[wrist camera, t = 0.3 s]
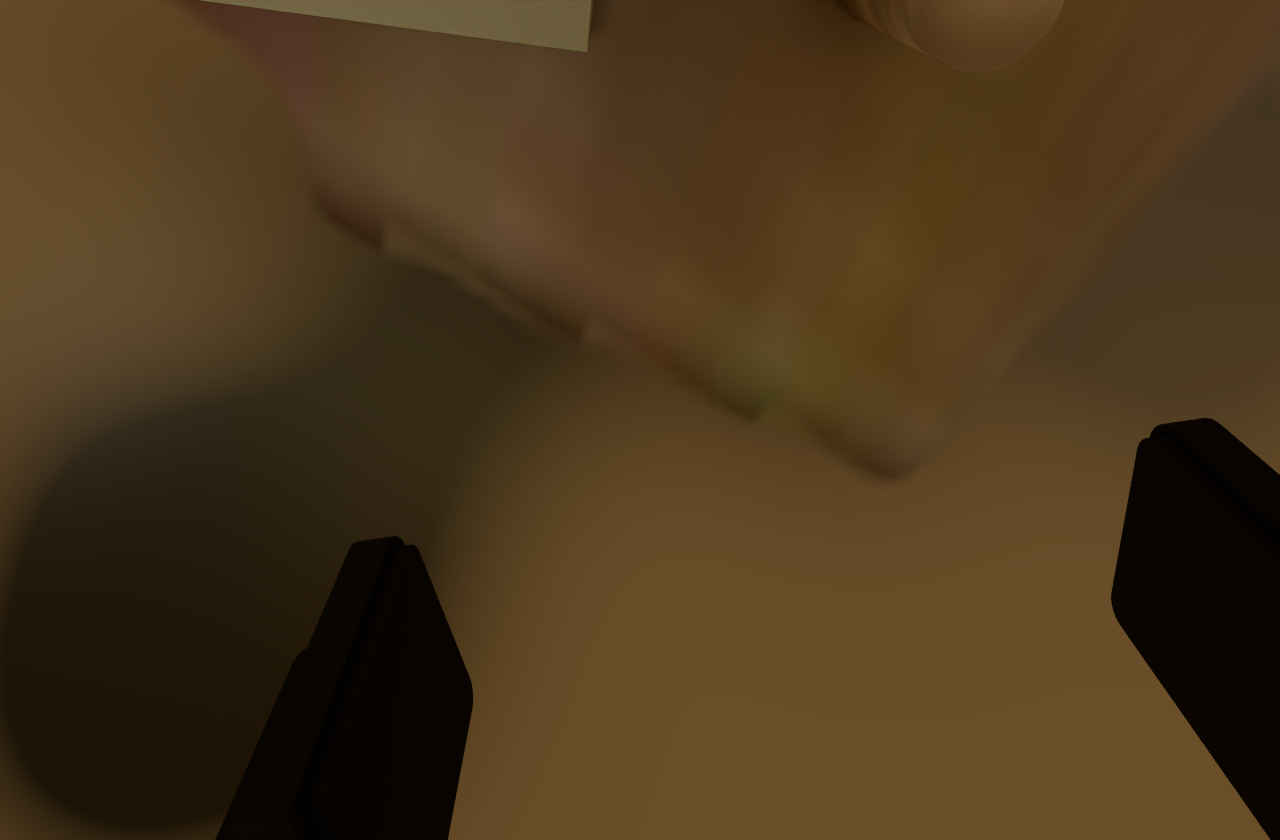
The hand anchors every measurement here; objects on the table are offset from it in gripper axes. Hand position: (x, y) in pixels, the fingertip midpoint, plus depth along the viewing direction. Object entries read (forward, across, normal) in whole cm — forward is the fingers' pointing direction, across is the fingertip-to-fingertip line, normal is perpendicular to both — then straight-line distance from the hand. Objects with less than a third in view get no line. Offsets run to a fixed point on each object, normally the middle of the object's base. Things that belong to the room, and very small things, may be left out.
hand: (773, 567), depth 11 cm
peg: (+29, -9, -4) cm, 30 cm away
